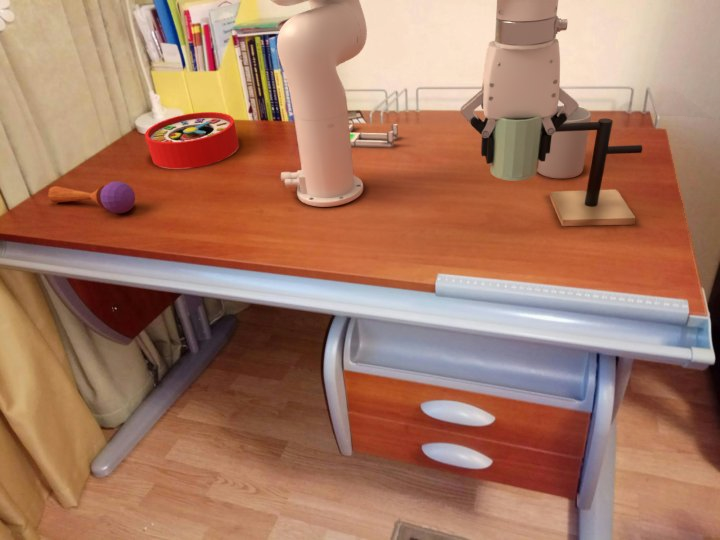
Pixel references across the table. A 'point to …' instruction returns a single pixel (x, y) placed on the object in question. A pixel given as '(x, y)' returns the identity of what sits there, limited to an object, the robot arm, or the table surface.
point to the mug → (567, 149)
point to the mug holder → (594, 185)
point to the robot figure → (374, 138)
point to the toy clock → (192, 140)
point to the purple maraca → (99, 196)
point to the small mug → (516, 148)
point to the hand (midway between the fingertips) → (514, 158)
